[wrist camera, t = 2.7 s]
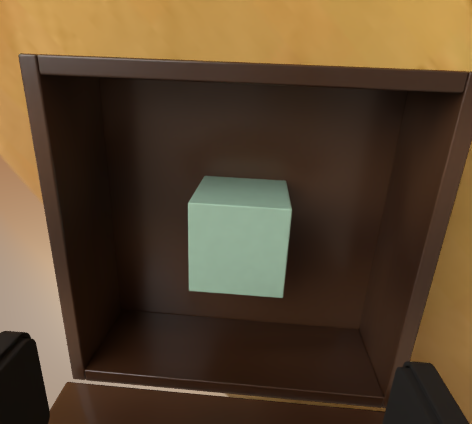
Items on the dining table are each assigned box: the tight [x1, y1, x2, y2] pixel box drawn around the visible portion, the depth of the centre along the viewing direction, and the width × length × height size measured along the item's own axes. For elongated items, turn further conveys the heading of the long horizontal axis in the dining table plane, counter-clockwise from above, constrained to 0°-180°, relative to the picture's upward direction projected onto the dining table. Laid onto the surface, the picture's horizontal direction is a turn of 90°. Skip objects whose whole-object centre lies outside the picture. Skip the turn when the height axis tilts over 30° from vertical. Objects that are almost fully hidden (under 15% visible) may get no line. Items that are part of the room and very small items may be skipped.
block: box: [188, 176, 292, 298], centre depth 17 cm, size 4×4×4 cm
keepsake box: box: [19, 54, 472, 408], centre depth 18 cm, size 15×16×6 cm
